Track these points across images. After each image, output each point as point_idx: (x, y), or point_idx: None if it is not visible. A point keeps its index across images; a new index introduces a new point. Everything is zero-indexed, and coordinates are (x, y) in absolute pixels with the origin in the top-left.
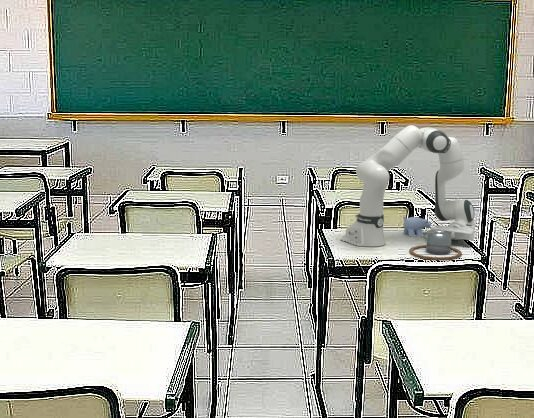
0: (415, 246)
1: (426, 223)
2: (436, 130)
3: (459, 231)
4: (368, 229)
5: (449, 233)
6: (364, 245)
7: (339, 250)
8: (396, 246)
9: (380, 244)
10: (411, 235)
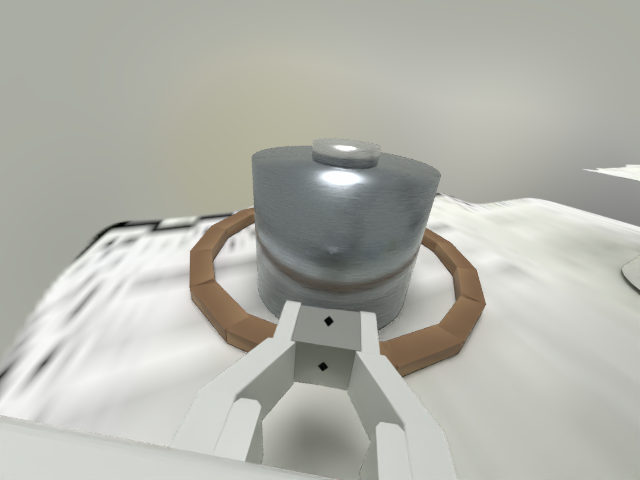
0: (479, 285)
1: None
2: None
3: (13, 442)
4: None
5: (268, 158)
6: None
7: (607, 223)
8: (587, 303)
9: (635, 276)
10: None
